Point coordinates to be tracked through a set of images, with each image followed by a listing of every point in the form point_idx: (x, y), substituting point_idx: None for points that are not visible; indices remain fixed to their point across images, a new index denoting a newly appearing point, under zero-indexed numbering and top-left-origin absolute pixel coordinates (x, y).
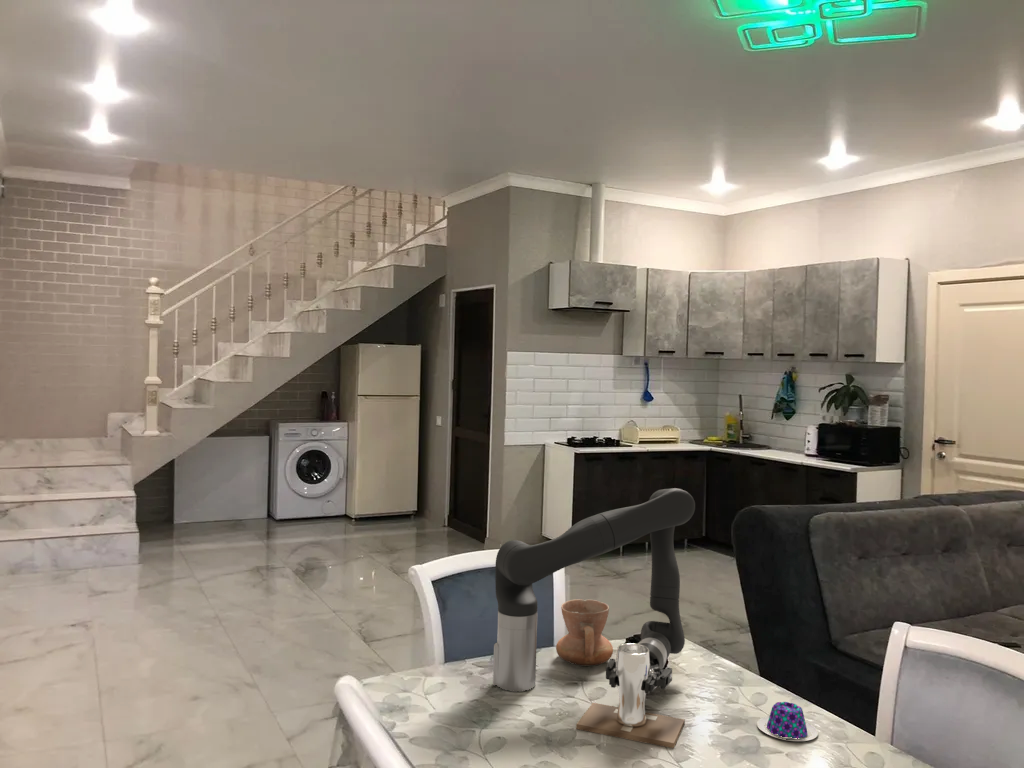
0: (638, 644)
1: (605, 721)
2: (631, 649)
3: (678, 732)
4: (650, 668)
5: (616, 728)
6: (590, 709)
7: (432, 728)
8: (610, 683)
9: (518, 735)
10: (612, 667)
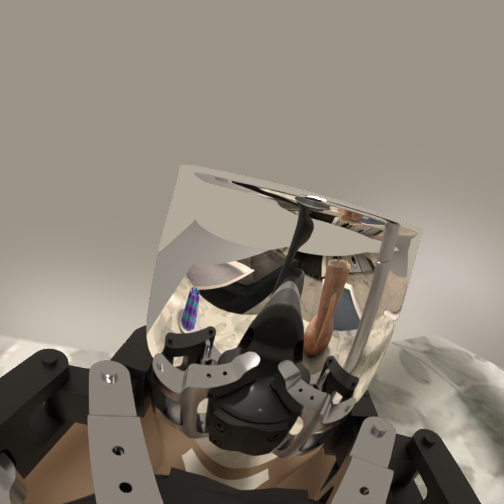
0: (301, 190)
1: (297, 474)
2: (360, 283)
3: None
4: (113, 440)
5: None
6: None
7: (482, 374)
8: None
9: (413, 392)
10: (422, 472)
